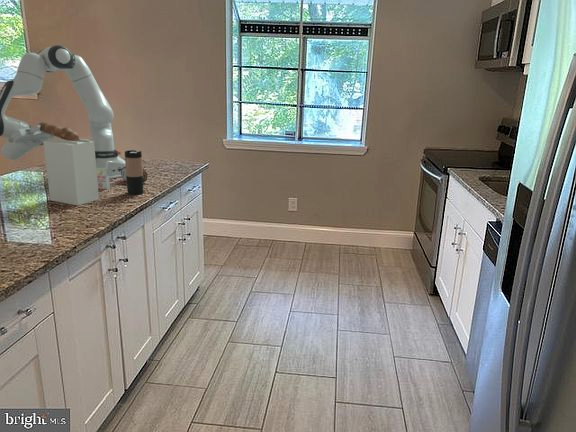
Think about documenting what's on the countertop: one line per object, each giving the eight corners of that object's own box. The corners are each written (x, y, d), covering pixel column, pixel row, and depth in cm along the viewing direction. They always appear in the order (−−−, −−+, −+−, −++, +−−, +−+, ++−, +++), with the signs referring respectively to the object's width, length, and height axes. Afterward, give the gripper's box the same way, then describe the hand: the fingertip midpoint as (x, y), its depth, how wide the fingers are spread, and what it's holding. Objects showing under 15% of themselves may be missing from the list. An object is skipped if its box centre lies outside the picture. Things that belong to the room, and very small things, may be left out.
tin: (148, 183, 233) (147, 167, 230) (144, 184, 230) (143, 168, 227) (124, 180, 237) (123, 164, 235) (120, 181, 235) (119, 165, 232)
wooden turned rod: (37, 131, 192) (37, 120, 191) (47, 130, 197) (47, 119, 195) (72, 143, 187) (72, 131, 185) (81, 142, 192) (82, 130, 190)
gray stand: (50, 200, 196) (42, 138, 188) (72, 194, 206) (65, 135, 198) (78, 205, 190) (71, 142, 182) (99, 199, 201) (93, 139, 193)
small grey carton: (96, 187, 221) (94, 167, 218) (110, 187, 221) (108, 167, 218) (93, 189, 217) (91, 168, 214) (107, 189, 218) (105, 169, 215)
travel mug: (128, 195, 209) (125, 153, 203) (126, 191, 215) (123, 150, 209) (145, 194, 212) (143, 152, 206) (142, 190, 219) (140, 149, 213)
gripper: (2, 135, 190) (20, 121, 184) (43, 130, 208) (61, 117, 202) (9, 148, 191) (27, 135, 184) (50, 143, 209) (67, 130, 202)
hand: (45, 125), depth 193 cm, fingers closed on wooden turned rod, 4 cm apart
